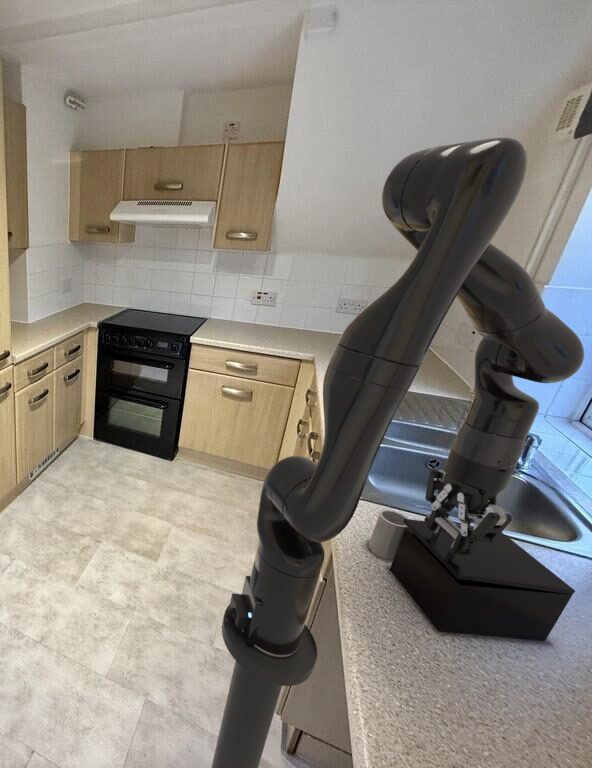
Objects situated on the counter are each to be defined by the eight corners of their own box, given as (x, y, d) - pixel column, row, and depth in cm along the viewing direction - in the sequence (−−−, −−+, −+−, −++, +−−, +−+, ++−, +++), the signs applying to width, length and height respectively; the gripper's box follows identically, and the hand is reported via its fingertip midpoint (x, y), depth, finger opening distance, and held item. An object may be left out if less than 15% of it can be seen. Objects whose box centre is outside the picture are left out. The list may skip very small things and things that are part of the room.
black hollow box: (438, 631, 69) (459, 585, 66) (389, 569, 82) (405, 527, 78) (545, 641, 68) (573, 594, 64) (478, 576, 81) (498, 534, 77)
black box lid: (457, 578, 65) (472, 552, 63) (402, 521, 78) (413, 498, 76) (573, 594, 64) (591, 568, 62) (498, 534, 77) (512, 510, 75)
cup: (377, 559, 84) (389, 525, 81) (363, 541, 89) (374, 508, 86) (404, 561, 84) (417, 527, 81) (388, 543, 89) (400, 510, 86)
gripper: (426, 431, 72) (397, 513, 78) (497, 476, 58) (455, 570, 64) (472, 435, 71) (438, 516, 77) (554, 481, 58) (506, 575, 64)
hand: (446, 540), depth 71 cm, fingers closed on black box lid, 5 cm apart
